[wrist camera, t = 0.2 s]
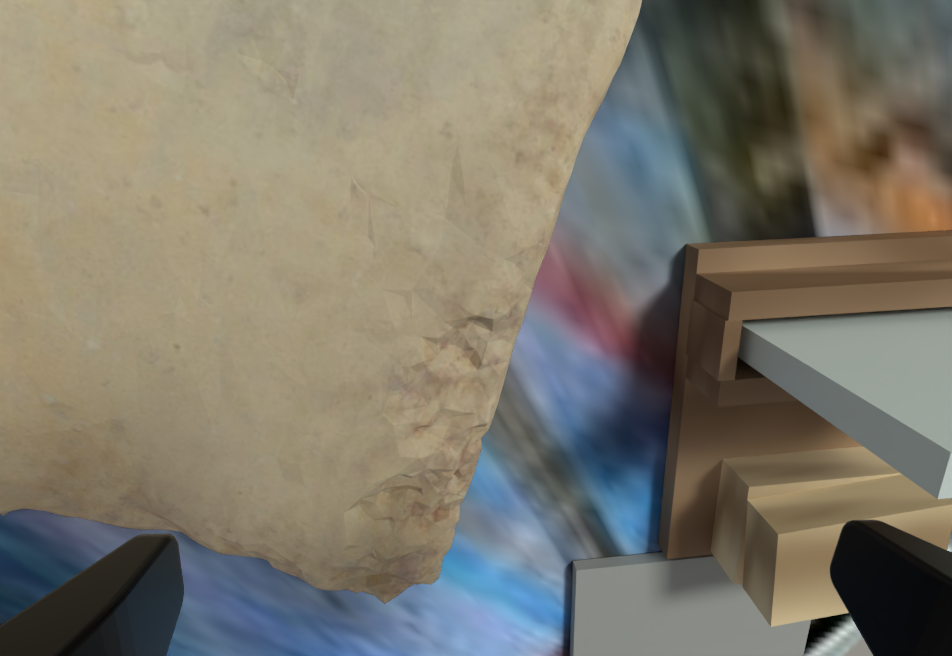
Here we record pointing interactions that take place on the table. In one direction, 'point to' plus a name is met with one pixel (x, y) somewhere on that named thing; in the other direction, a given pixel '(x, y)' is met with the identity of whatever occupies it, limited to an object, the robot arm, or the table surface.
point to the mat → (670, 611)
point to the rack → (748, 391)
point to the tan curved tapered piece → (278, 260)
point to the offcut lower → (779, 490)
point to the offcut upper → (825, 540)
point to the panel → (869, 381)
